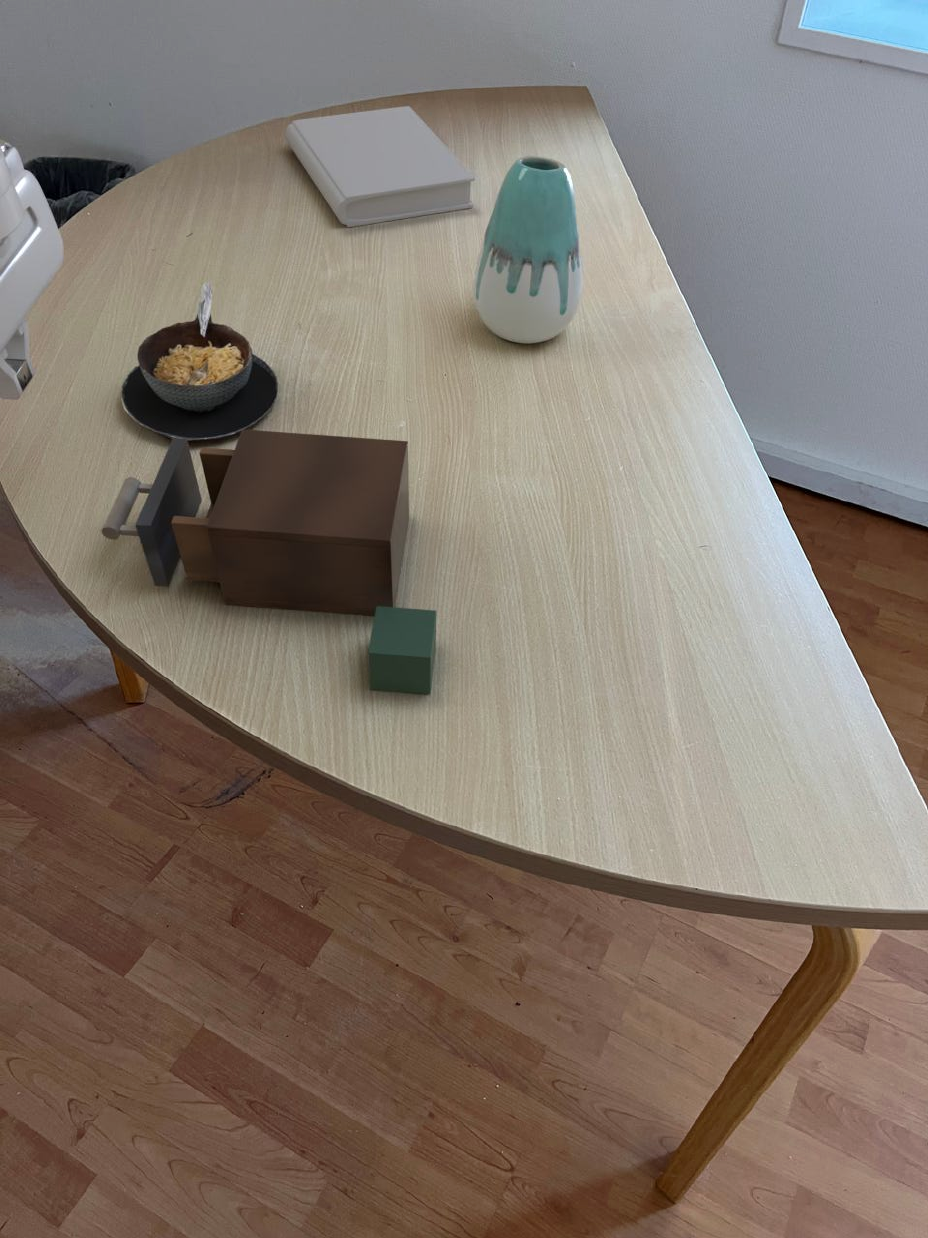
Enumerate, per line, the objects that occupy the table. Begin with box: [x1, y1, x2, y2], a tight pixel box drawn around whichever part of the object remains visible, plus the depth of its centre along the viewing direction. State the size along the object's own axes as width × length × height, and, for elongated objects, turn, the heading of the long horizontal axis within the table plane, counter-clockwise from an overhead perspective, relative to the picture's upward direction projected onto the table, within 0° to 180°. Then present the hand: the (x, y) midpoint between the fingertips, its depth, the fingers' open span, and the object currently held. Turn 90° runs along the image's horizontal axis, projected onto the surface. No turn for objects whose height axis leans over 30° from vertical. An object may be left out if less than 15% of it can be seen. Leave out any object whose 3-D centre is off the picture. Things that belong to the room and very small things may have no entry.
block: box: [367, 606, 437, 695], centre depth 69 cm, size 4×4×4 cm
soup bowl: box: [120, 281, 279, 441], centre depth 89 cm, size 15×16×7 cm
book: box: [284, 105, 476, 228], centre depth 123 cm, size 18×4×24 cm
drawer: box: [101, 438, 235, 588], centre depth 75 cm, size 17×10×7 cm, turn 86°
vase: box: [472, 155, 584, 344], centre depth 95 cm, size 12×12×18 cm
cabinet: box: [207, 429, 410, 617], centre depth 75 cm, size 14×12×9 cm
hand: (17, 387), depth 67 cm, fingers closed
